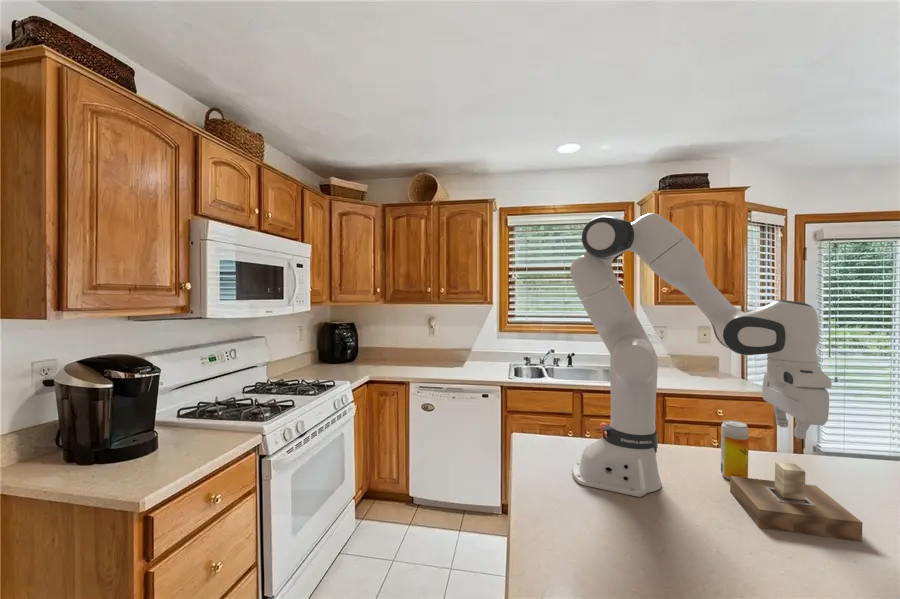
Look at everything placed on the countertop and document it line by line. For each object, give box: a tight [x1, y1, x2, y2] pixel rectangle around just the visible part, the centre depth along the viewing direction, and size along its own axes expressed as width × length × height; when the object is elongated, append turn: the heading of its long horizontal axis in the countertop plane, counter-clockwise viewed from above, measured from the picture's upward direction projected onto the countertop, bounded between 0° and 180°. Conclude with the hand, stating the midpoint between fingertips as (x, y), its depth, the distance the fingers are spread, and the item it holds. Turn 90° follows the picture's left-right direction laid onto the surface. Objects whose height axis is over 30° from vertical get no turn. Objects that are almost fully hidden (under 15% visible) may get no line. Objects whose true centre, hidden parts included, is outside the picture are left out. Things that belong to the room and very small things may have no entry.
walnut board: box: [729, 476, 863, 543], centre depth 92 cm, size 18×16×4 cm
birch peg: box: [774, 461, 806, 503], centre depth 92 cm, size 4×4×11 cm
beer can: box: [720, 419, 750, 481], centre depth 110 cm, size 6×6×15 cm
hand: (790, 431), depth 92 cm, fingers open, 6 cm apart
